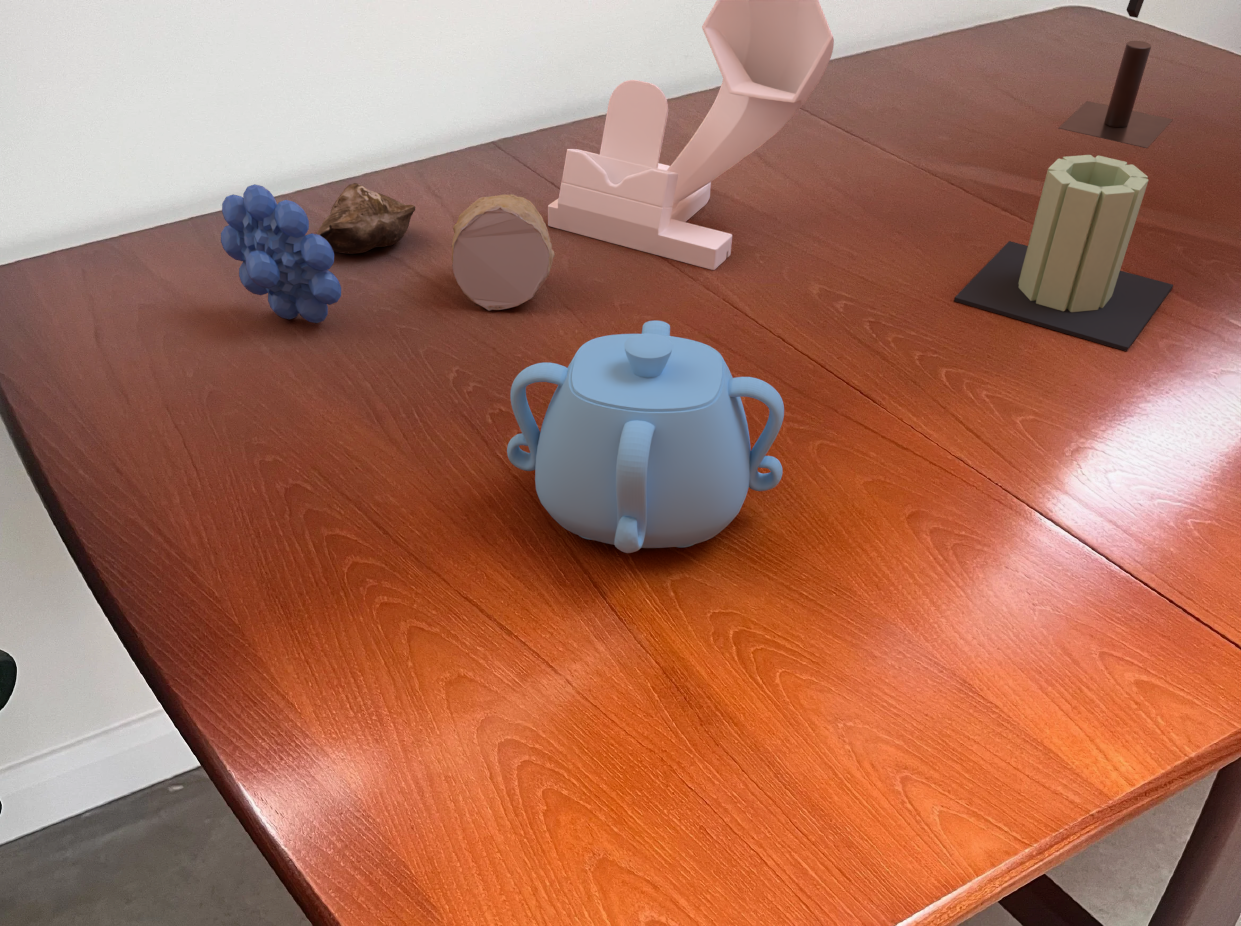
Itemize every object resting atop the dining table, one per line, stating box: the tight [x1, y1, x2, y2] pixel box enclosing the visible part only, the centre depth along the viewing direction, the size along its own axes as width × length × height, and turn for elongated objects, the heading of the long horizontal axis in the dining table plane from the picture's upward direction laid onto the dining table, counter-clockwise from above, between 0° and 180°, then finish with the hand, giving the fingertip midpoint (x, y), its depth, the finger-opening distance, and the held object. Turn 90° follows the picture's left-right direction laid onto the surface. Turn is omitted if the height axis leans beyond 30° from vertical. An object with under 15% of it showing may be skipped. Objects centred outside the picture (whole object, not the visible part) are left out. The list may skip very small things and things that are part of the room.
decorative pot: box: [506, 320, 785, 554], centre depth 90 cm, size 16×16×14 cm
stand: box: [1058, 40, 1174, 149], centre depth 143 cm, size 10×10×10 cm
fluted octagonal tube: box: [1018, 154, 1150, 312], centre depth 115 cm, size 8×8×11 cm
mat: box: [953, 240, 1174, 352], centre depth 119 cm, size 16×14×1 cm
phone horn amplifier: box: [547, 0, 835, 271], centre depth 121 cm, size 25×16×25 cm, turn 60°
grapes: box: [220, 184, 342, 324], centre depth 110 cm, size 12×7×12 cm, turn 66°
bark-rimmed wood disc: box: [451, 193, 555, 312], centre depth 115 cm, size 10×10×10 cm
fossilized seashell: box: [315, 182, 416, 255], centre depth 124 cm, size 8×7×10 cm
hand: (1206, 27), depth 118 cm, fingers open, 13 cm apart
